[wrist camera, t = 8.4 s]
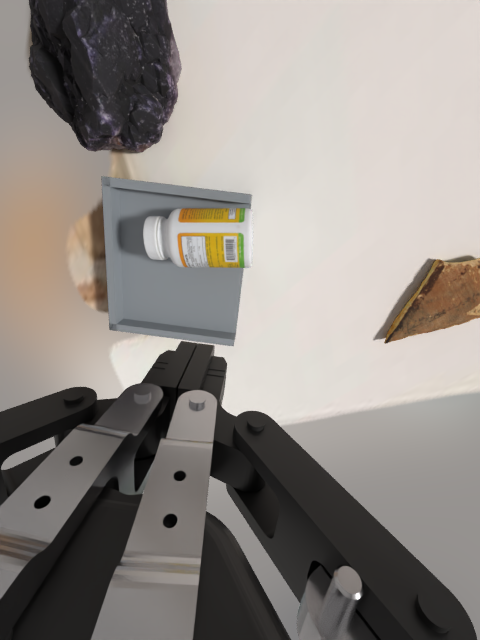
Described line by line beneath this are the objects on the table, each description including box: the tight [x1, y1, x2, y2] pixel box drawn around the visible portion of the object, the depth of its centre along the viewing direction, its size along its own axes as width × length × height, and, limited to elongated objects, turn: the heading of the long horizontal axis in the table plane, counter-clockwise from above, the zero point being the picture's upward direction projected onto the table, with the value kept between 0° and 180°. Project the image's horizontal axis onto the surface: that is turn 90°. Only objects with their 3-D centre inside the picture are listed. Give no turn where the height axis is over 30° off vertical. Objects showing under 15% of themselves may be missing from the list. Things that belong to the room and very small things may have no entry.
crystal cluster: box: [29, 0, 182, 152], centre depth 22 cm, size 13×14×10 cm
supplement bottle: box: [143, 208, 253, 268], centre depth 28 cm, size 5×5×10 cm
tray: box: [101, 176, 252, 346], centre depth 31 cm, size 16×14×2 cm
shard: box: [384, 258, 480, 343], centre depth 31 cm, size 11×8×2 cm
